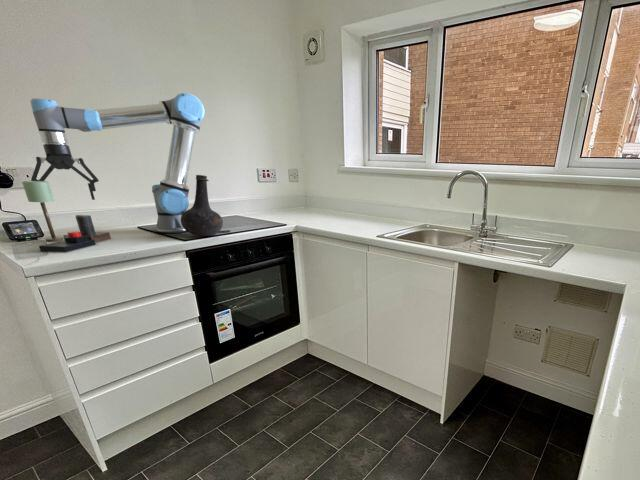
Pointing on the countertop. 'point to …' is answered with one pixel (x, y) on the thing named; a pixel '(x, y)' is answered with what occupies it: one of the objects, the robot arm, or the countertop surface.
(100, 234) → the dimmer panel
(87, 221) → the dark grey tall block
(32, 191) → the lamp
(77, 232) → the power button
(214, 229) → the glass bottle
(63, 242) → the lamp base
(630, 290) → the countertop surface
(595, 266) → the countertop surface
